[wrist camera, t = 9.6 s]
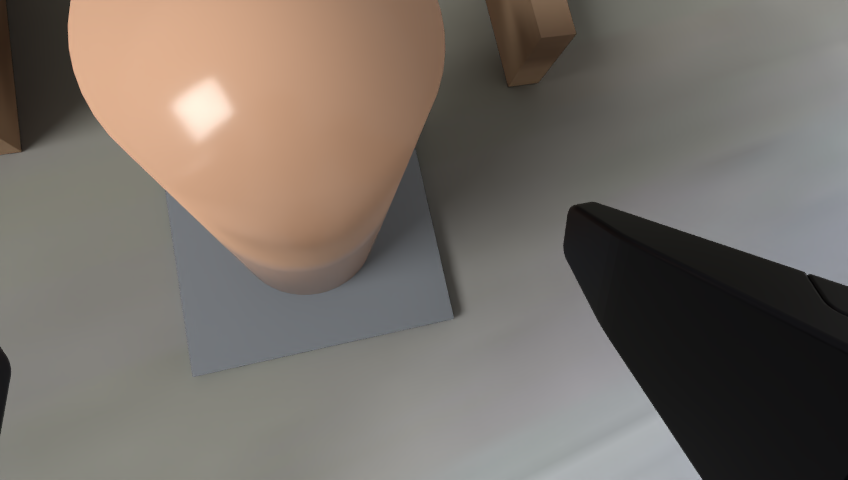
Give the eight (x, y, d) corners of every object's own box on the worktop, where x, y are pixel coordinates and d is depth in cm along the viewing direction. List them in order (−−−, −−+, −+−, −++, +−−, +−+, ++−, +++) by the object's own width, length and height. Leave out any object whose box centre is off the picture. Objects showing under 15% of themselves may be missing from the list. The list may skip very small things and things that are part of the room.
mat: (451, 319, 22) (453, 318, 21) (195, 376, 20) (192, 376, 19) (400, 94, 23) (402, 89, 23) (159, 126, 21) (155, 121, 21)
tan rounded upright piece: (388, 279, 21) (480, 171, 8) (246, 308, 20) (91, 235, 7) (350, 98, 22) (377, -247, 9) (214, 115, 21) (32, -249, 8)
